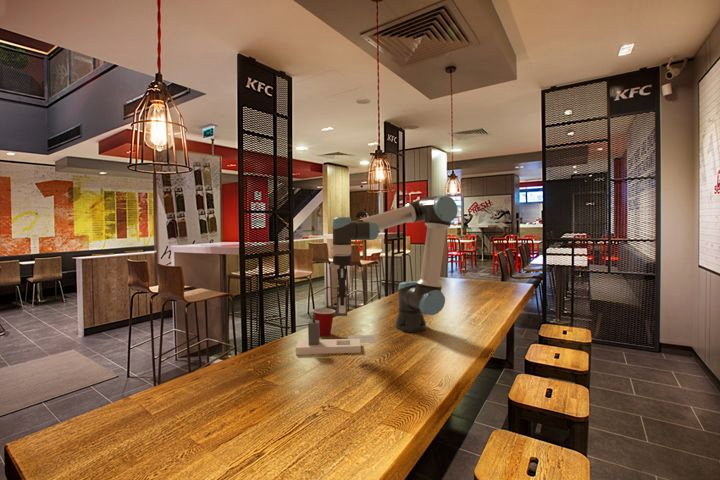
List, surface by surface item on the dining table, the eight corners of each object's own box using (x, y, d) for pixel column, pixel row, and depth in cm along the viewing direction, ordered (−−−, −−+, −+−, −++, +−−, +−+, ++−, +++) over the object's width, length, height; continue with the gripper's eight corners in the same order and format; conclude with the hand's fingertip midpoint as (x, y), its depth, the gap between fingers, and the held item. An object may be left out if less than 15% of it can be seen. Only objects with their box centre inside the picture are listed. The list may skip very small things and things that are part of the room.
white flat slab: (373, 335, 169) (373, 334, 169) (375, 343, 159) (375, 342, 159) (347, 336, 168) (347, 335, 168) (348, 343, 158) (348, 342, 158)
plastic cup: (340, 334, 170) (340, 309, 170) (322, 340, 163) (321, 314, 162) (326, 329, 178) (326, 305, 178) (308, 334, 171) (307, 309, 170)
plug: (347, 313, 152) (347, 284, 152) (347, 316, 148) (347, 286, 147) (337, 313, 152) (336, 284, 151) (336, 316, 148) (336, 286, 147)
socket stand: (359, 345, 156) (359, 311, 155) (360, 353, 147) (360, 316, 146) (298, 347, 155) (297, 312, 154) (295, 355, 146) (295, 318, 145)
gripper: (333, 253, 157) (333, 306, 158) (332, 257, 140) (332, 317, 141) (350, 252, 157) (351, 306, 159) (351, 257, 140) (351, 316, 142)
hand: (342, 311), depth 150 cm, fingers closed on plug, 4 cm apart
